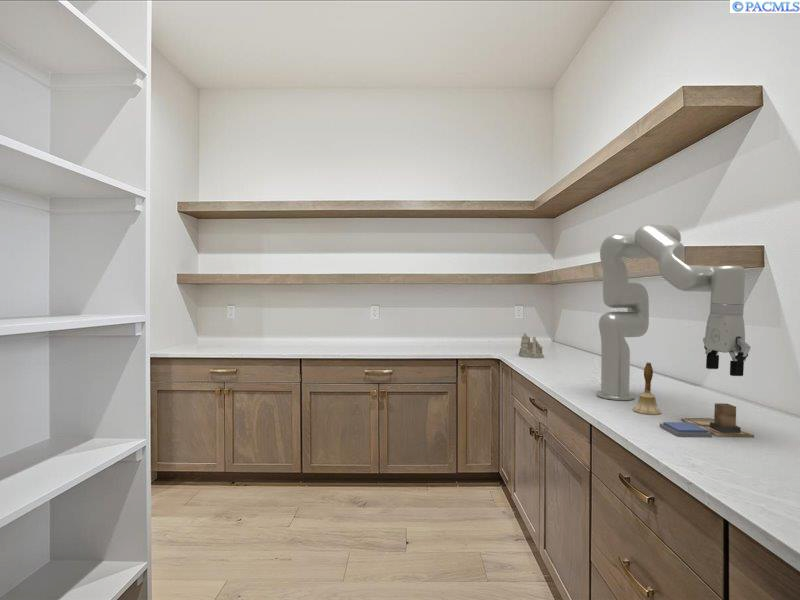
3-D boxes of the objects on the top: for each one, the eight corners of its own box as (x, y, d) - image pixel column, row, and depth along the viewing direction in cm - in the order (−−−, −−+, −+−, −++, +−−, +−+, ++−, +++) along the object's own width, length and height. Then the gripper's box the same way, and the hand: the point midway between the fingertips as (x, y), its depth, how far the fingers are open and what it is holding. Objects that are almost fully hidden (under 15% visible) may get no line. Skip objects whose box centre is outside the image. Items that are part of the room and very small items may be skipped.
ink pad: (659, 426, 132) (659, 421, 132) (691, 427, 132) (691, 421, 132) (677, 436, 123) (677, 430, 123) (711, 437, 123) (711, 431, 123)
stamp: (709, 427, 129) (710, 402, 129) (727, 427, 129) (728, 402, 129) (721, 432, 124) (722, 407, 124) (740, 433, 124) (740, 407, 124)
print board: (680, 420, 139) (680, 417, 139) (714, 420, 139) (714, 418, 139) (716, 436, 123) (716, 434, 123) (754, 437, 123) (754, 434, 123)
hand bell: (652, 408, 153) (652, 360, 153) (667, 415, 145) (668, 364, 145) (627, 408, 153) (628, 360, 153) (641, 415, 145) (642, 364, 145)
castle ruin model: (539, 358, 270) (539, 333, 271) (513, 357, 281) (513, 332, 282) (550, 357, 282) (550, 333, 283) (525, 356, 292) (525, 332, 293)
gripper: (693, 308, 135) (691, 366, 136) (735, 312, 118) (732, 378, 119) (719, 308, 135) (716, 366, 136) (764, 313, 118) (761, 379, 119)
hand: (723, 372), depth 127 cm, fingers open, 9 cm apart
